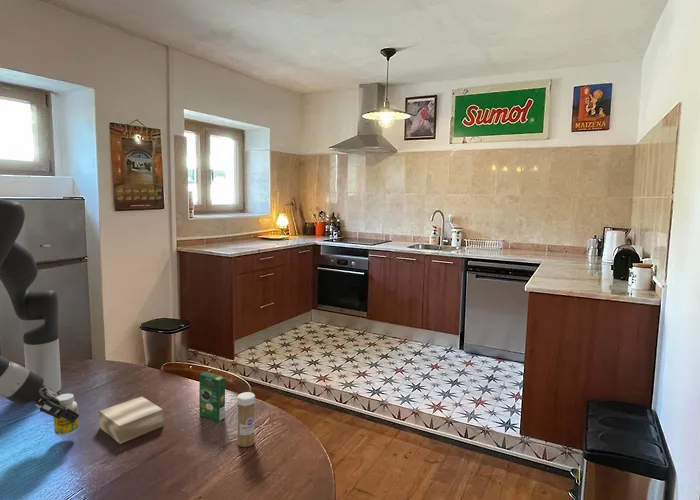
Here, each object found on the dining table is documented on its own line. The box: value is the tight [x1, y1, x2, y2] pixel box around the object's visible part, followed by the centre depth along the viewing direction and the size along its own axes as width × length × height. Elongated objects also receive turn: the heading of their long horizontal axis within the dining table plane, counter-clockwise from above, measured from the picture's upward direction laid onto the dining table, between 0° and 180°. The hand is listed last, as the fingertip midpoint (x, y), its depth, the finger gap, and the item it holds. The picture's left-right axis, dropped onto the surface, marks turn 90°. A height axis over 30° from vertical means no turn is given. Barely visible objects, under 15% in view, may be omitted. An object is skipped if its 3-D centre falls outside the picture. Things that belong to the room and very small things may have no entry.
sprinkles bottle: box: [236, 391, 256, 448], centre depth 119 cm, size 5×5×14 cm
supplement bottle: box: [53, 393, 79, 437], centre depth 118 cm, size 5×5×10 cm
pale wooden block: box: [98, 395, 164, 445], centre depth 126 cm, size 12×12×5 cm
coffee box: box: [198, 371, 226, 423], centre depth 132 cm, size 8×3×13 cm, turn 63°
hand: (73, 413), depth 119 cm, fingers closed on supplement bottle, 5 cm apart
